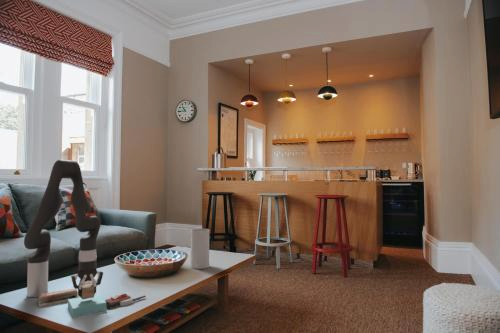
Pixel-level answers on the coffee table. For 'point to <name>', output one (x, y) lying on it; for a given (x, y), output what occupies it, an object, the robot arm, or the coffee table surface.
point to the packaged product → (57, 297)
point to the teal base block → (86, 305)
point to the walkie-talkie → (120, 300)
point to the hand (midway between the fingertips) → (87, 295)
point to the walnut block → (87, 291)
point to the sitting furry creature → (89, 282)
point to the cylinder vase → (199, 248)
